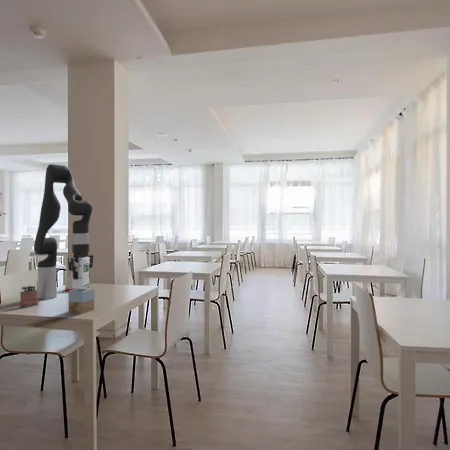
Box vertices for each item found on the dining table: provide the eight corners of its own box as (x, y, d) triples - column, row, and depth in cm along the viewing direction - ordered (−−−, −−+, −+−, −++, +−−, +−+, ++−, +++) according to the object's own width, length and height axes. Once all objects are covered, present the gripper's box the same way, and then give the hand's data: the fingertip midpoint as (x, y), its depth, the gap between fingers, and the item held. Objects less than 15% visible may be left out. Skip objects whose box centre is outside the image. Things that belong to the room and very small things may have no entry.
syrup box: (83, 289, 169) (83, 257, 169) (72, 288, 170) (71, 257, 170) (90, 286, 175) (90, 256, 175) (79, 286, 176) (79, 256, 176)
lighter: (36, 304, 187) (36, 284, 187) (39, 305, 185) (38, 285, 185) (19, 306, 181) (19, 286, 181) (21, 307, 179) (21, 287, 179)
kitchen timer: (84, 286, 237) (83, 263, 237) (92, 289, 227) (92, 265, 226) (61, 289, 227) (61, 265, 227) (70, 292, 217) (69, 267, 217)
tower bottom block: (68, 312, 170) (68, 301, 170) (81, 308, 178) (81, 298, 178) (81, 313, 167) (81, 302, 167) (94, 309, 175) (94, 299, 175)
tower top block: (68, 301, 170) (68, 290, 170) (80, 298, 178) (80, 287, 178) (83, 302, 168) (83, 291, 168) (94, 299, 175) (94, 288, 175)
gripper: (85, 241, 180) (86, 275, 181) (62, 243, 167) (63, 280, 167) (97, 242, 178) (98, 276, 178) (75, 244, 164) (75, 281, 164)
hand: (81, 278), depth 173 cm, fingers closed on syrup box, 6 cm apart
